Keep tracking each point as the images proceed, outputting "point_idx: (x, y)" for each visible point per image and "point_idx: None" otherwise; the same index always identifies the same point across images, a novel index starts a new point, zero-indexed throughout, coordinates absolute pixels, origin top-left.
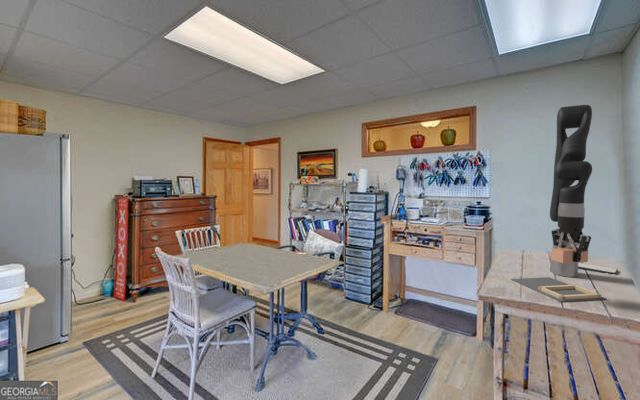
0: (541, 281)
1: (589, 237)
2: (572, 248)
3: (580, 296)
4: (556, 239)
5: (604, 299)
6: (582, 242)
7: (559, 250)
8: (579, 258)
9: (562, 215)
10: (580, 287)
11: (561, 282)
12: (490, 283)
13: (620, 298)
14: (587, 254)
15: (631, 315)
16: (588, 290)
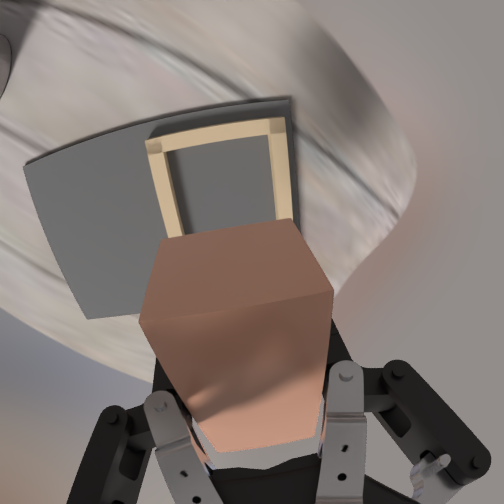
0: (85, 232)
1: (481, 462)
2: (231, 382)
3: (292, 216)
4: (135, 479)
5: (289, 109)
6: (426, 450)
7: (283, 440)
8: (330, 330)
9: None
10: (185, 137)
11: (82, 152)
12: (146, 376)
13: (274, 31)
14: (313, 262)
15: (409, 154)
16: (229, 131)
